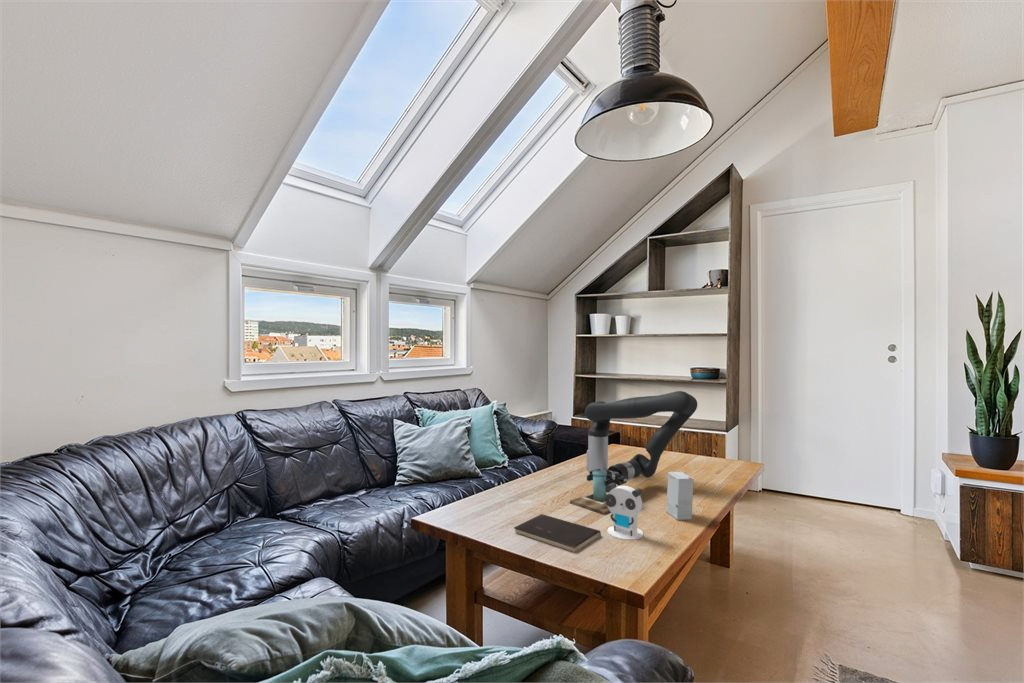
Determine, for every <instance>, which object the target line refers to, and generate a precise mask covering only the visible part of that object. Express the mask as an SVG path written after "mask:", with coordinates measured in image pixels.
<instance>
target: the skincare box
mask: <svg viewBox="0 0 1024 683" xmlns="http://www.w3.org/2000/svg"><path fill="white" fill-rule="evenodd" d="M666 489H667V491H666V513H668V514H669V515H670V516H671V517H673V518H674V519H675V520H677V521H685V520H692V519H693V503H694V502H693V501H694V499H693V498H694V478H693V477H691V476H689V475H688V474H686V473H684V472H683V471H668V472H667V488H666Z"/></svg>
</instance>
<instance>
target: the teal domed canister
mask: <svg viewBox="0 0 1024 683" xmlns="http://www.w3.org/2000/svg"><path fill="white" fill-rule="evenodd" d="M592 475H593V480H592V493H593V500H595V501H598V502H601V503H602V502H604V501H606V494H607V492H606V490H605V487H606V486H605V480H606V476H607V472H605V471H593V472H592Z"/></svg>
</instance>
